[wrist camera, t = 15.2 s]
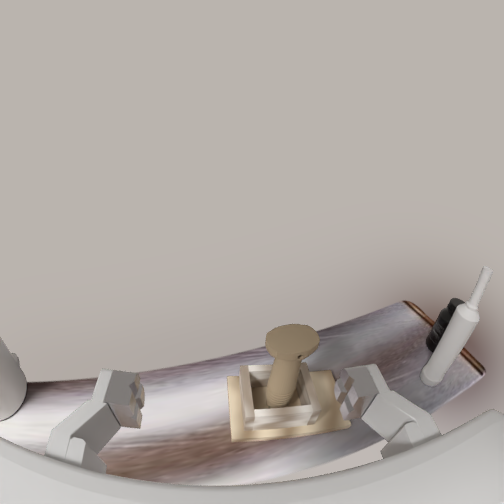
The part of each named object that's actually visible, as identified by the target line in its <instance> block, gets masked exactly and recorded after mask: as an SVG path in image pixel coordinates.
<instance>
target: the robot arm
mask: <svg viewBox="0 0 504 504" xmlns="http://www.w3.org/2000/svg"><path fill="white" fill-rule="evenodd" d="M26 390H27V382H26V377H25V375H24V373H23V371H22V370H21V368H20V366H19V359H18V357H17V356H16V354H14V353H11V352H10V351H9V349H8V348H7V346H6V345H5V343H4V342H3V340H2V339H1V337H0V421H1V420H4V419H6V418H8V417H10V416H11V415H13V414H14V413H15V412H16V411H17V410H18V409H19V407H20V406H21V404H22V402H23V400H24V398H25V395H26ZM334 393H335V398H336V400H337V401H338V402H339V403H340V404H341V406H340V411H341V414H342V417H343V420H344V421H346V420H351V419H356V418H361V419H362V420H363V421H365V422H366V423H367V424H368V425H369V426H370V427H371V428H373V429H374V430H375V431H376V432H377V433H378V434H379V435H381V436H382V437H383V438H384V439H385V440H386V441H387V442H389V443H388V444H387V445H386V446H385V447H384V448H383V449H382V450H381V454H382V457H383V459H382V460H378V461H375V462H372V463H369V464H366V465H362V466H358V467H355V468H351V469H347V470H343V471H339V472H334V473H330V474H326V475H320V476H315V477H310V478H304V479H298V480H291V481H283V482H275V483H265V484H253V485H232V486H201V485H181V484H168V483H158V482H150V481H143V480H136V479H130V478H124V477H119V476H114V475H109V474H106V467H107V465H106V464H105V463H104V462H103V461H102V460H101V459H100V457H99V456H98V455H97V454H98V453H99V452H100V451H101V450H102V448H103V447H104V446H105V445H106V444H107V443H108V442H109V440H110V439H111V438H112V437H113V436H114V435H115V434H116V432H117V431H118V430H119V429H120V428H121V427H130V428H139V429H140V427H141V420H142V414H141V411H140V409H141V408H142V407H143V406H144V400H145V393H144V388H143V385H142V384H140V376H139V373H131V372H123V371H116V370H109V369H102V370H101V372H100V374H99V377H98V380H97V383H96V387H95V390H94V393H93V396H92V400H87V401H86V402H85V403H84V404H82V405H81V406H80V407H79V408H78V409H76V410H75V411H74V412H73V413H72V414H70V415H69V416H68V417H67V418H65V419H64V420H63V421H62V422H61V423H59V424H58V425H57V426H56V427H55V428H53V429H52V431H51V434H50V437H49V441H48V444H47V447H46V451H45V455H41V454H38V453H36V452H33V451H31V450H28V449H26V448H23V447H21V446H19V445H16V444H14V443H12V442H10V441H8V440H6V439H4V438H2V437H0V504H504V414H503V413H501V412H499V411H497V410H494V409H491V410H488V411H486V412H484V413H482V414H481V415H479V416H477V417H476V418H474V419H472V420H471V421H469V422H467V423H465V424H463V425H461V426H459V427H458V428H456V429H454V430H452V431H450V432H448V433H446V434H444V435H441V433H440V431H439V429H438V427H437V425H436V424H435V422H434V420H433V418H432V416H431V414H429V413H428V412H426V411H424V410H423V409H421V408H420V407H418V406H417V405H415V404H413V403H412V402H410V401H409V400H407V399H406V398H404V397H402V396H401V395H399V394H398V393H396V392H395V391H390V389H389V387H388V386H387V384H386V382H385V380H384V378H383V376H382V374H381V372H380V371H379V369H378V367H377V365H375V364H370V365H364V366H363V365H362V366H356V367H350V368H344V369H342V370H341V372H340V378H339V379H338V380H337V381H336V383H335V386H334ZM120 426H121V427H120Z"/></svg>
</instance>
